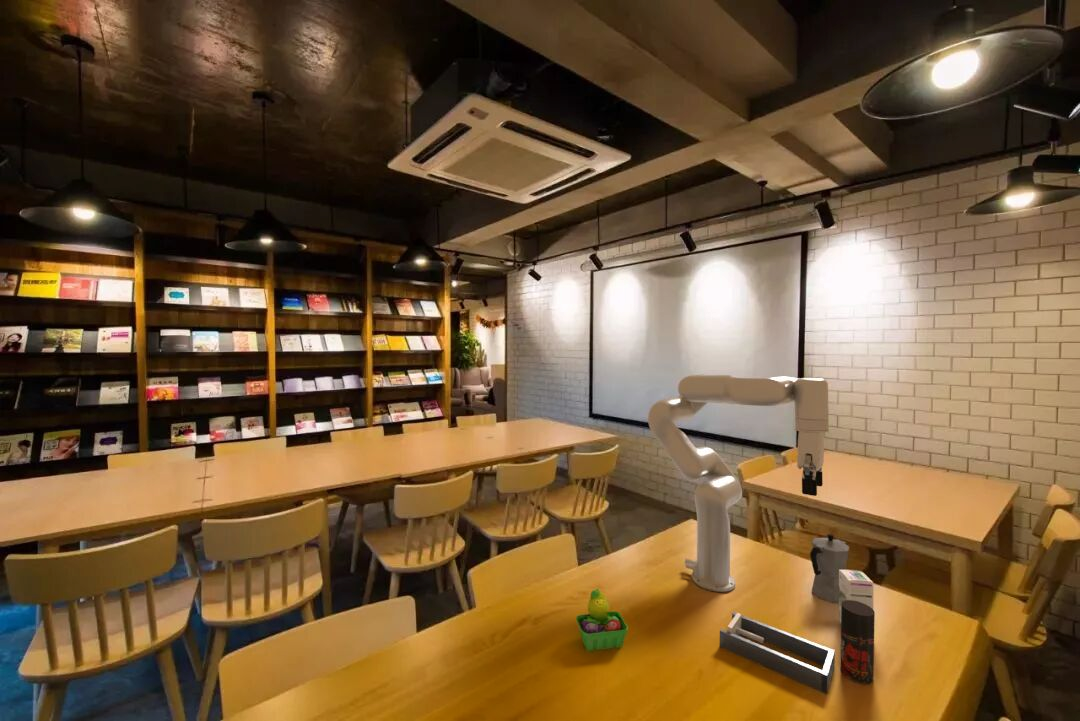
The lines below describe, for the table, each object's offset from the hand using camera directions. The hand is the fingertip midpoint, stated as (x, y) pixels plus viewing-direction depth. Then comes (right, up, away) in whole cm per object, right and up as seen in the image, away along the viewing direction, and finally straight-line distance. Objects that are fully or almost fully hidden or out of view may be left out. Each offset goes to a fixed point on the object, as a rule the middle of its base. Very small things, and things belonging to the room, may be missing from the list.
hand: (812, 489), depth 115 cm
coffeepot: (+12, -35, +13) cm, 39 cm away
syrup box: (+9, -35, -3) cm, 37 cm away
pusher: (-21, -35, -8) cm, 42 cm away
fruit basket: (-57, -36, -6) cm, 67 cm away
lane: (-17, -36, -13) cm, 41 cm away
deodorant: (-1, -36, -18) cm, 40 cm away
